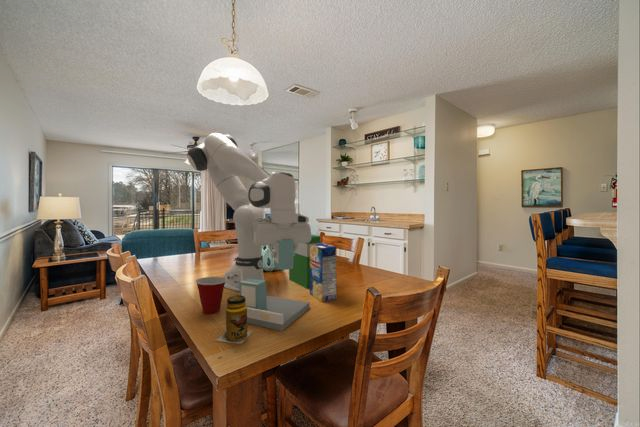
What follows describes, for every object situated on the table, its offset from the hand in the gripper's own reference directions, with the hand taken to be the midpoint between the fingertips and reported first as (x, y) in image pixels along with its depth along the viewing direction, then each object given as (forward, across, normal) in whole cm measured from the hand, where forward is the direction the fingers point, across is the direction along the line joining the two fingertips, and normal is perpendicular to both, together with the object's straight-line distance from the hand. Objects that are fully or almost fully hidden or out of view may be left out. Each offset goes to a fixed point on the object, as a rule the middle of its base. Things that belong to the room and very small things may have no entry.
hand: (283, 256), depth 95 cm
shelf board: (+21, -3, +3) cm, 21 cm away
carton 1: (+19, -10, +5) cm, 22 cm away
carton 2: (+4, 0, 0) cm, 4 cm away
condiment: (+21, -18, -9) cm, 29 cm away
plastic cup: (+21, -23, +14) cm, 35 cm away
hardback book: (+21, +19, +33) cm, 43 cm away
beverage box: (+21, +20, +11) cm, 32 cm away
